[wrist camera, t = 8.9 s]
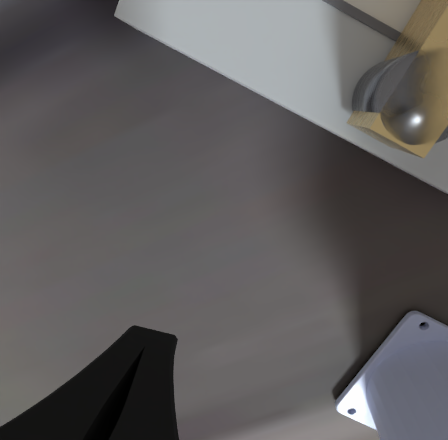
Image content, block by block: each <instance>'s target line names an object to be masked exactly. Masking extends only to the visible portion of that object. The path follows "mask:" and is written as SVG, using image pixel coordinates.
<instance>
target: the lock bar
mask: <svg viewBox="0 0 448 440" xmlns="http://www.w3.org/2000/svg"><path fill="white" fill-rule="evenodd" d="M352 111H353V113H352V114H351V116H350V118H349V119H348V121H347V124H349V125H351V126H353V127H354V128H356V129H358V130H360V131H362V132H363V133H365V134H367V135H369V136H371V137H373V138H374V139H376V140H378V141H380V142H382V143H383V144H385V145H387V146H389V147H391V148H394V149H397V150H400V151H403V152H406V153H409V154H412V155H415V156H418V157H421V158H425V156H426V155H427V154H428V152H429V151H430V149H431V148H432V147H433V145H434V144H435V143H438V142H441V141H443V140H445V139H447V138H448V0H421V2H420V3H419V5H418V7H417V8H416V10H415V11H414V13H413V15H412V16H411V18H410V20H409V21H408V23H407V24H406V26H405V28H404V29H403V31H402V33H401V34H400V36H399V38H398V39H397V41H396V42H395V44H394V46H393V47H392V49H391V51H390V52H389V54H388V56H387V57H386V59H385V60H384V61H383V62H381V63H378V64H376V65H374V66H373V67H371V68H370V69H369V70H367V71H366V72H365V73H364V74H363V76H362V77H361V78H360V80H359V81H358V83H357V85H356V87H355V89H354V92H353V96H352Z"/></svg>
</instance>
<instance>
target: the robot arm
mask: <svg viewBox="0 0 448 440" xmlns="http://www.w3.org/2000/svg"><path fill="white" fill-rule="evenodd" d="M422 322H426V323H425V324H424V325H423V326H419V325H420V324H421V323H422ZM177 340H178V339H177V338H176V336H175V335H172V334H168V333H164V332H160V331H156V330H152V329H147V328H143V327H139V326H135V325H134V326H132V327H130V328H129V329H128V330H127V331H126V332H125V333H124V334H123V335H122V336H121V337H120V338H119V339H118V340H117V341H116V342H114V343H113V344H112V345H111V346H110V347H109V348H108V349H107V350H106V351H104V352H103V353H102V354H101V355H100V356H99V357H97V358H96V359H95V360H94V361H93V362H91V363H90V364H89V365H88V366H87V367H85V368H84V369H83V370H82V371H81V372H79V373H78V374H77V375H75V376H74V377H73V378H71V379H70V380H69V381H67V382H66V383H65V384H63V385H62V386H61V387H59V388H58V389H57V390H55V391H54V392H53V393H51V394H50V395H49V396H47V397H46V398H44V399H43V400H41V401H40V402H38V403H37V404H36V405H34V406H33V407H31V408H30V409H28V410H26V411H25V412H23V413H22V414H20V415H19V416H17V417H16V418H14V419H12V420H11V421H9V422H8V423H6V424H4V425H3V426H1V427H0V440H179V437H178V430H177V422H176V413H175V402H174V384H173V366H174V355H175V350H176V345H177ZM335 406H336V409H337V411H338V412H339V413H341V414H343V415H345V416H348V417H350V418H352V419H354V420H356V421H358V422H360V423H363V424H365V425H367V426H369V427H371V428H373V429H375V430H377V431H378V434H379V437H380V440H448V326H447V325H445V324H443V323H441V322H439V321H437V320H435V319H433V318H431V317H429V316H427V315H425V314H423V313H421V312H419V311H411V312H408V313H407V314H406V315H405V316H404V317H403V319H402V320H401V321H400V322H399V324H398V325H397V326H396V327H395V328H394V330H393V331H392V332H391V333H390V335H389V336H388V337H387V338H386V340H385V341H384V342H383V343H382V344H381V346H380V347H379V348H378V349H377V351H376V352H375V353H374V354H373V356H372V357H371V358H370V359H369V360H368V362H367V363H366V364H365V365H364V367H363V368H362V369H361V370H360V371H359V373H358V374H357V375H356V376H355V378H354V379H353V380H352V381H351V383H350V384H349V385H348V386H347V387H346V389H345V390H344V391H343V392H342V394H341V395H340V396H339V397H338V399H337V400H336V402H335ZM350 408H353V409H350Z"/></svg>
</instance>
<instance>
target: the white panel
mask: <svg viewBox="0 0 448 440" xmlns="http://www.w3.org/2000/svg"><path fill="white" fill-rule="evenodd" d="M420 2H421V0H119V2H118V5H117V8H116V11H115V14H114V16H115V17H117V18H118V19H120V20H122V21H123V22H125V23H127V24H128V25H130V26H132V27H133V28H135V29H137V30H139V31H141V32H143V33H144V34H146V35H148V36H150V37H152V38H154V39H156V40H158V41H160V42H161V43H163V44H165V45H167V46H169V47H171V48H173V49H175V50H176V51H178V52H180V53H182V54H184V55H186V56H188V57H190V58H192V59H193V60H195V61H197V62H199V63H201V64H203V65H205V66H207V67H209V68H210V69H212V70H214V71H216V72H218V73H220V74H222V75H224V76H225V77H227V78H229V79H231V80H233V81H235V82H237V83H239V84H241V85H242V86H244V87H246V88H248V89H250V90H252V91H254V92H256V93H258V94H259V95H261V96H263V97H265V98H267V99H269V100H271V101H273V102H274V103H276V104H278V105H280V106H282V107H284V108H286V109H288V110H290V111H291V112H293V113H295V114H297V115H299V116H301V117H303V118H305V119H307V120H308V121H310V122H312V123H314V124H316V125H318V126H320V127H322V128H323V129H325V130H327V131H329V132H331V133H333V134H335V135H337V136H339V137H340V138H342V139H344V140H346V141H348V142H350V143H352V144H354V145H356V146H357V147H359V148H361V149H363V150H365V151H367V152H369V153H371V154H372V155H374V156H376V157H378V158H380V159H382V160H384V161H386V162H388V163H389V164H391V165H393V166H395V167H397V168H399V169H401V170H403V171H405V172H406V173H408V174H410V175H412V176H414V177H416V178H418V179H420V180H421V181H423V182H425V183H427V184H429V185H431V186H433V187H435V188H437V189H438V190H440V191H442V192H444V193H446V194H448V138H447V139H445V140H443V141H441V142H438V143H435V144H434V145H433V147H432V148H431V149H430V151H429V152H428V154H427V155H426V156H425V158H421V157H418V156H415V155H412V154H409V153H406V152H403V151H400V150H397V149H394V148H391V147H389V146H387V145H385V144H383V143H382V142H380V141H378V140H376V139H374V138H373V137H371V136H369V135H367V134H365V133H363V132H362V131H360V130H358V129H356V128H354V127H353V126H351V125H349V124H347V121H348V119H349V118H350V116H351V114H352V113H353V111H352V96H353V92H354V89H355V87H356V85H357V83H358V81H359V80H360V78H361V77H362V76H363V74H364V73H365V72H366V71H367V70H369V69H370V68H371V67H373V66H374V65H376V64H378V63H381V62H383V61H384V60H385V59H386V57H387V56H388V54H389V52H390V51H391V49H392V47H393V46H394V44H395V42H396V41H397V39H398V38H399V36H400V34H401V33H402V31H403V29H404V28H405V26H406V24H407V23H408V21H409V20H410V18H411V16H412V15H413V13H414V11H415V10H416V8H417V7H418V5H419V3H420Z"/></svg>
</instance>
